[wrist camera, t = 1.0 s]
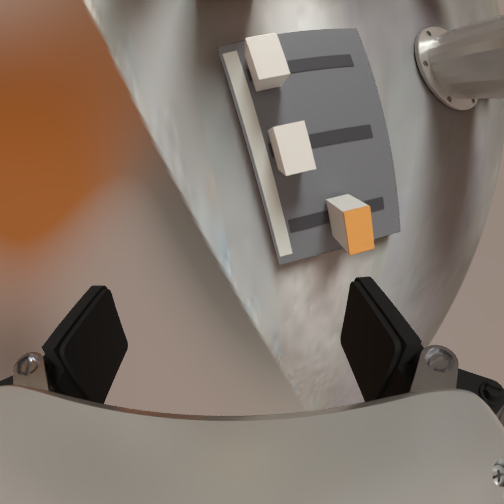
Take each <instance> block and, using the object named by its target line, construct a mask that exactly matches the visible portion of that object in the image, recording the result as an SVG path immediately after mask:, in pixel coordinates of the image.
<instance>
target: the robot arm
mask: <svg viewBox="0 0 504 504" xmlns="http://www.w3.org/2000/svg"><path fill="white" fill-rule="evenodd" d="M415 57H416V61H417V64H418V68H419V70H420V72H421V75H422V77H423V79H424V80H425V82H426V84H427V85H428V87H429V88H430V90H431V91H432V92H433V94H434V95H435V96H436V97H437V98H438V99H439V100H440V101H441V102H442V103H444V104H445V105H447V106H448V107H450V108H452V109H455V110H468V109H471V108H472V107H474V106H475V104H476V103H477V101H478V99H490V98H497V99H504V15H503V16H498V17H494V18H490V19H487V20H483V21H480V22H476V23H473V24H470V25H467V26H464V27H461V28H458V29H455V30H452V31H447V30H445V29H443V28H440V27H434V26H432V27H427V28H425V29H423V30H422V31H421V32H419V34H418V35H417V37H416V41H415ZM421 342H422V341H421V340H420V338H419V337H418V336H417V334H416V333H415V332H414V330H413V329H412V328H411V326H410V325H409V324H408V322H407V321H406V320H405V319H404V317H403V316H402V315H401V313H400V312H399V311H398V310H397V308H396V307H395V306H394V305H393V303H392V302H391V301H390V300H389V298H388V297H387V296H386V295H385V293H384V292H383V291H382V290H381V289H380V287H379V286H378V285H377V284H376V283H375V281H374V280H373V279H372V278H371V277H358V278H356V279H355V280H354V282H351V284H350V288H349V295H348V300H347V306H346V312H345V317H344V322H343V327H342V332H341V345H342V347H343V350H344V352H345V354H346V357H347V359H348V361H349V364H350V366H351V369H352V371H353V373H354V376H355V378H356V381H357V383H358V386H359V388H360V390H361V393H362V395H363V398H364V400H365V402H363V403H358V404H352V405H347V406H341V407H335V408H328V409H322V410H314V411H306V412H298V413H287V414H274V415H255V416H201V415H183V414H170V413H160V412H150V411H143V410H136V409H129V408H123V407H116V406H111V405H106V404H104V402H105V399H106V397H107V394H108V392H109V390H110V387H111V385H112V383H113V380H114V378H115V375H116V373H117V371H118V369H119V367H120V364H121V362H122V360H123V358H124V355H125V353H126V351H127V348H128V343H127V339H126V336H125V334H124V331H123V328H122V325H121V322H120V319H119V316H118V313H117V310H116V307H115V303H114V300H113V297H112V293H111V291H110V290H109V289H107V287H106V286H91V287H90V288H89V290H88V291H87V292H86V293H85V294H84V295H83V296H82V298H81V299H80V300H79V301H78V303H77V304H76V305H75V306H74V307H73V308H72V309H71V311H70V312H69V313H68V314H67V316H66V317H65V318H64V319H63V320H62V322H61V323H60V324H59V326H58V327H57V328H56V329H55V331H54V332H53V333H52V335H51V336H50V337H49V339H48V340H47V341H46V342H45V344H44V345H43V346H42V349H43V351H44V352H45V355H44V356H42V355H41V354H40V353H38V352H28V353H26V354H24V355H22V356H21V357H19V358H18V360H17V361H16V362H15V364H14V367H13V376H11V377H9V378H6V379H4V380H1V381H0V504H504V389H503V388H502V386H501V385H500V384H499V383H498V382H496V381H494V380H491V379H488V378H485V377H482V376H479V375H476V374H473V373H470V372H467V371H464V370H461V369H459V368H458V359H457V357H456V355H455V354H454V353H453V352H452V351H451V350H449V349H447V348H446V347H443V346H438V345H431V346H428V347H426V348H425V349H424V348H423V346H422V345H421Z"/></svg>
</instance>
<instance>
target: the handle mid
mask: <svg viewBox="0 0 504 504" xmlns="http://www.w3.org/2000/svg"><path fill="white" fill-rule="evenodd" d="M268 134H269V137H270V141H271V145H272V148H273V152H274V156H275V160H276V163H277V167H278V170H279V171H280V172H282V173H283V174H284V175H285V176H288V175H292V174H297V173H301V172H305V171H309V170H314V169H316V165H315V161H314V157H313V152H312V148H311V144H310V140H309V136H308V132H307V129H306V125H305V121H298V122H294V123H289V124H284V125H280V126H275V127H272V128H270V129H269V130H268Z"/></svg>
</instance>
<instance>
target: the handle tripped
mask: <svg viewBox="0 0 504 504" xmlns="http://www.w3.org/2000/svg"><path fill="white" fill-rule="evenodd" d="M326 203H327V208H328V213H329V219H330V224H331V230H332V236H333V237H334V238H335V239H336V240H337V241H338V242H339V243H340V245H341V246H342V247H343V248H344V249H345V250H346V252H347V253H348V254H349V255H353V254H357V253H360V252H364V251H367V250H370V249H374V237H373V227H372V218H371V210H370V206H369V205H367V204H365V203H364V202H362V201H360V200H358V199H357V198H355V197H353V196H351V195H349V194H346V195H342V196H337V197H333V198H329V199H326Z"/></svg>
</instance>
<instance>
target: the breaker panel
mask: <svg viewBox="0 0 504 504" xmlns="http://www.w3.org/2000/svg"><path fill="white" fill-rule="evenodd" d="M277 36H278V38H279V41H280V44H281V47H282V50H283V53H284V55H285V58H286V61H287V64H288V67H289V71H290V75H289V77H288V78H287V80H286V81H285V82H284V84H283V85H282V86H280V87H275V88H271V89H266V90H261V91H257V92H256V89H255V86H254V83H253V80H252V77H251V73H250V70H249V67H248V64H247V61H246V58H245V40H244V41H240V42H236V43H231V44H227V45H224V46H220V47H217V48H218V52H219V55H220V58H221V62H222V65H223V68H224V71H225V74H226V78H227V81H228V84H229V88H230V91H231V94H232V97H233V101H234V104H235V107H236V111H237V114H238V118H239V121H240V124H241V128H242V131H243V135H244V138H245V142H246V145H247V149H248V152H249V156H250V159H251V163H252V166H253V170H254V173H255V177H256V181H257V184H258V188H259V191H260V195H261V199H262V202H263V206H264V210H265V214H266V217H267V221H268V225H269V229H270V232H271V236H272V240H273V244H274V248H275V251H276V255H277V259H278V263H279V265H282V264H286V263H289V262H293V261H297V260H301V259H304V258H308V257H312V256H316V255H319V254H323V253H327V252H330V251H334V250H337V249H341V248H343V247H342V246H341V245H340V243H339V242H338V241H337V240H336V239H335V238H334V237H333V236H332V230H331V224H330V219H329V213H328V208H327V203H326V199H329V198H333V197H337V196H342V195H346V194H349V195H351V196H353V197H355V198H357V199H358V200H360V201H362V202H364V203H365V204H367V205H369V206H370V210H371V218H372V227H373V237H374V239H377V238H380V237H384V236H387V235H391V234H394V233H398V232H400V218H399V206H398V196H397V187H396V179H395V172H394V165H393V159H392V153H391V147H390V142H389V137H388V132H387V127H386V122H385V118H384V114H383V109H382V105H381V101H380V98H379V94H378V90H377V87H376V83H375V80H374V76H373V73H372V70H371V67H370V64H369V61H368V58H367V55H366V52H365V49H364V46H363V44H362V41H361V38H360V36H359V33H358V31H357V29H323V30H309V31H299V32H291V33H283V34H277ZM298 121H305V125H306V129H307V132H308V136H309V140H310V144H311V148H312V152H313V157H314V161H315V165H316V169H314V170H309V171H305V172H301V173H297V174H292V175H288V176H285V175H284V174H283V173H282V172H280V171H279V170H278V167H277V163H276V160H275V156H274V152H273V148H272V145H271V141H270V137H269V134H268V130H269V129H270V128H272V127H275V126H280V125H284V124H289V123H294V122H298Z"/></svg>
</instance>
